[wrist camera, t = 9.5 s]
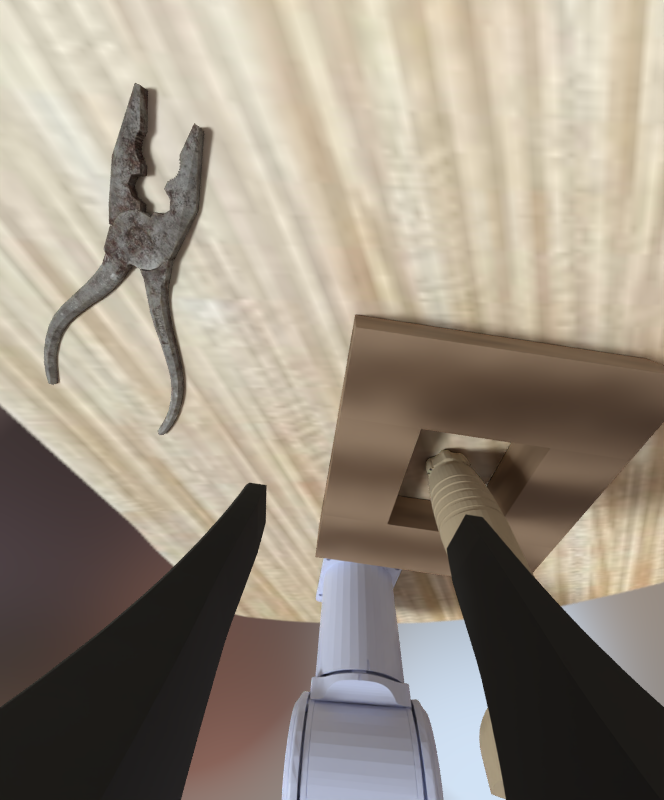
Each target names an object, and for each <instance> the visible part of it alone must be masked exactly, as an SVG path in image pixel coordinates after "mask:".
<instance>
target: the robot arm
mask: <svg viewBox="0 0 664 800" xmlns="http://www.w3.org/2000/svg"><path fill="white" fill-rule="evenodd" d="M265 523H266V485H261V484H254V483H248V484H247V485H246V486H245V487H244V489H243V490H242V491H241V493H240V494H239V495H238V497H237V498H236V499H235V500H234V502H233V503H232V504H231V505H230V507H229V508H228V509H227V510H226V511H225V513H224V514H223V515H222V516H221V517H220V518H219V519H218V521H217V522H216V523H215V524H214V525H213V526H212V527H211V528H210V530H209V531H208V532H207V533H206V534H205V535H204V536H203V537H202V538H201V539H200V541H199V542H198V543H197V544H196V545H195V546H194V547H193V548H192V549H191V550H190V551H189V552H188V553H187V554H186V555H185V556H184V557H183V558H182V559H181V560H180V561H179V562H178V563H177V564H176V565H175V566H174V567H173V568H172V569H171V570H170V571H169V572H168V573H167V574H166V575H165V576H163V578H161V579H160V580H159V581H158V582H157V583H156V584H155V585H154V586H153V587H152V588H151V589H149V590H148V591H147V592H146V593H145V594H144V595H143V596H142V597H140V598H139V599H138V600H137V601H136V602H135V603H134V604H132V605H131V606H130V607H129V608H128V609H127V610H125V611H124V612H123V613H122V614H121V615H119V616H118V617H117V618H116V619H115V620H114V621H112V622H111V623H110V624H109V625H108V626H106V627H105V628H104V629H103V630H101V631H100V632H99V633H98V634H97V635H95V636H94V637H93V638H91V639H90V640H89V641H88V642H86V643H85V644H84V645H83V646H81V647H80V648H79V649H77V650H76V651H75V652H74V653H72V654H71V655H70V656H68V657H67V658H66V659H65V660H63V661H62V662H61V663H59V664H58V665H57V666H56V667H54V668H53V669H52V670H50V671H49V672H48V673H47V674H45V675H44V676H43V677H41V678H40V679H39V680H37V681H36V682H35V683H33V684H32V685H30V686H29V687H28V688H26V689H25V690H24V691H22V692H21V693H19V694H18V695H17V696H16V697H14V698H12V699H11V700H10V701H8V702H7V703H6V704H4V705H3V706H2V707H0V800H181V797H182V793H183V790H184V786H185V782H186V778H187V775H188V771H189V767H190V763H191V760H192V756H193V753H194V749H195V745H196V742H197V737H198V734H199V731H200V727H201V723H202V720H203V716H204V713H205V709H206V706H207V702H208V699H209V695H210V691H211V688H212V685H213V681H214V678H215V674H216V670H217V667H218V664H219V660H220V657H221V653H222V650H223V647H224V643H225V640H226V637H227V634H228V631H229V628H230V625H231V622H232V620H233V617H234V614H235V612H236V609H237V606H238V604H239V601H240V598H241V596H242V593H243V590H244V588H245V585H246V582H247V580H248V577H249V574H250V572H251V569H252V566H253V564H254V561H255V558H256V555H257V553H258V549H259V546H260V542H261V538H262V534H263V531H264V527H265ZM447 555H448V561H449V567H450V572H451V577H452V581H453V585H454V588H455V592H456V595H457V598H458V602H459V605H460V608H461V611H462V615H463V618H464V621H465V624H466V628H467V631H468V634H469V637H470V641H471V644H472V646H473V650H474V654H475V657H476V660H477V664H478V667H479V671H480V675H481V679H482V683H483V688H484V692H485V696H486V701H487V706H488V710H489V715H490V719H491V724H492V729H493V734H494V739H495V744H496V749H497V754H498V759H499V764H500V769H501V775H502V780H503V786H504V791H505V797H506V800H664V707H663V706H662V705H661V704H660V703H659V702H657V701H656V700H655V699H654V698H653V697H652V696H651V695H650V694H649V693H647V692H646V691H645V690H644V689H643V688H642V687H641V686H640V685H639V684H638V683H636V682H635V680H633V679H632V678H631V677H630V676H629V675H628V674H627V673H626V672H625V671H624V670H623V669H622V668H621V667H620V666H619V665H618V664H617V663H616V662H615V661H614V660H613V659H612V658H611V657H610V656H609V655H607V654H606V653H605V652H604V651H603V650H602V649H601V648H600V647H599V646H598V645H597V644H596V643H595V642H594V641H593V640H592V639H591V638H590V637H589V636H588V635H587V634H586V633H585V632H584V631H583V630H582V629H581V628H580V627H579V625H578V624H577V623H576V622H575V621H574V620H573V619H572V618H571V617H570V616H569V615H568V614H567V613H566V612H565V611H564V610H563V608H562V607H561V606H560V605H559V604H558V603H557V602H556V601H555V600H554V599H553V598H552V597H551V595H550V594H549V593H548V592H547V591H546V590H545V589H544V588H543V587H542V585H541V584H540V583H539V582H538V581H537V580H536V579H535V578H534V576H533V575H532V574H531V573H530V572H529V571H528V570H527V568H526V567H525V566H524V565H523V564H522V563H521V561H520V560H519V559H518V558H517V557H516V556H515V554H514V553H513V552H512V551H511V550H510V548H509V547H508V546H507V545H506V544H505V543H504V541H503V540H502V539H501V538H500V537H499V535H498V534H497V533H496V532H495V531H494V530H493V528H492V527H491V526H490V525H489V524H488V523H487V521H486V520H485V519H484V518H483V517H480V516H473V515H465V516H464V518H463V520H462V522H461V524H460V525H459V527H458V529H457V531H456V533H455V534H454V536H453V538H452V540H451V542H450V543H449V545H448V547H447ZM401 570H402V569H396V568H389V567H382V566H375V565H368V564H361V563H354V562H347V561H340V560H333V559H326V558H324V559H323V564H322V569H321V574H320V579H319V584H318V589H317V594H316V600H317V601H320V602H322V609H321V621H320V633H319V644H318V656H317V668H316V677H312V681H311V691H310V692H307V691H304V692H303V693H302V694H301V697H300V698H299V699H298V700H297V702H296V703H295V706H294V708H293V712H292V717H291V722H290V727H289V733H288V740H287V747H286V756H285V764H284V775H283V776H284V777H283V789H282V800H443V791H442V783H441V775H440V768H439V763H438V756H437V751H436V745H435V740H434V736H433V731H432V727H431V723H430V720H429V717H428V715H427V713H426V711H425V710H424V709H423V707H422V706H421V704H420V702H419V701H418V700H411V699H410V691H409V685H408V684H406V683H404V676H403V668H402V660H401V651H400V643H399V634H398V626H397V617H396V609H395V600H394V592H393V588H394V586H395V584H396V581H397V579H398V577H399V575H400V573H401Z"/></svg>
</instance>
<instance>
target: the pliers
mask: <svg viewBox="0 0 664 800" xmlns="http://www.w3.org/2000/svg"><path fill="white" fill-rule="evenodd" d="M147 103H148V91H147V90H146V89H145V88H143V87H142V86H141V85H139V84H137V83H135V84H134V87H133V90H132V94H131V97H130V100H129V103H128V106H127V110H126V113H125V116H124V119H123V122H122V126H121V129H120V132H119V135H118V138H117V142H116V145H115V148H114V151H113V154H112V164H111V179H110V194H109V224H110V225H111V226H110V227H109V231H108V235H107V239H106V242H105V246H104V251H105V252H106V253H105V256H104V260H103V263H102V265H101V266H100V268H99V269H98V270H97V272H96V273H95V274H94V275H93V277H92V278H91V279H90V280H89V281H88V282H87V283H86V284H85V285H84V286H83V287H82V288H80V289H79V290H78V291H77V292H76V293H75V294H74V295H73V296H72V297H71V298H70V299H69V300H68V301H67V302H65V303H64V304H63V305H62V306H61V308H60V309H59V310H58V311H57V312H56V314H55V315H54V317H53V319H52V321H51V323H50V325H49V327H48V331H47V335H46V339H45V347H44V365H45V371H46V376H47V380H48V383H49V384H53V385H54V384H56V383H57V382H58V377H57V368H56V353H57V348H58V344H59V341H60V338H61V335H62V333H63V331H64V330H65V328H66V327H67V325H68V324H69V323H70V322H71V321H72V320H73V319H74V318H75V317H77V316H78V315H79V314H80V313H82V312H83V311H84V310H86V309H87V308H88V307H90V306H91V305H93V304H94V303H96V302H97V301H99V300H100V299H102V298H103V297H105V296H106V295H107V294H109V293H110V292H111V291H112V290H114V289H115V287H116V286H117V285H118V284H119V283H120V282H121V281H122V280H123V279H124V277H125V276H126V275H127V273H128V272H129V271H130V269H131V268H132V265H134V266H136V267H137V268H139V269H140V271H141V274H142V276H143V278H144V282H145V287H146V293H147V298H148V303H149V308H150V313H151V316H152V319H153V323H154V326H155V329H156V332H157V334H158V337H159V340H160V343H161V346H162V349H163V352H164V355H165V359H166V362H167V365H168V369H169V373H170V377H171V386H172V393H171V402H170V407H169V411H168V413H167V416H166V418H165V420H164V422H163V423H162V425H161V426H160V428H159V430H158V434H159V435H164V434H165V433H166V432H167V431H168V430H169V429H170V427H171V426H172V424H173V423H174V421H175V419H176V417H177V415H178V413H179V409H180V406H181V403H182V397H183V373H182V366H181V362H180V357H179V353H178V349H177V345H176V340H175V336H174V332H173V328H172V323H171V318H170V312H169V303H168V292H169V283H170V277H171V271H172V264H173V259H175V257H176V255H177V253H178V251H179V249H180V247H181V245H182V243H183V240H184V238H185V236H186V234H187V232H188V230H189V228H190V226H191V224H192V222H193V220H194V218H195V216H196V214H197V212H198V208H199V194H200V180H201V166H202V152H203V138H204V131H203V130H202V129H201V128H200V127H199V126H197V125H196V124H195V123H194V125H193V127H192V129H191V132H190V134H189V136H188V138H187V140H186V142H185V145H184V147H183V149H182V151H181V153H180V159H179V160H180V161H181V162H180V169H179V170H180V171H178V173H179V174H177V176H176V178H174V179H172V180H170V181H168V182H167V184H166V186H165V188H164V189H165V191H166V193H167V195H168V196H169V198H170V211H168V212H167V213H165V214H161V213H156V212H153V214H152V216H151V215H150V214H148V213H146V204H145V203H144V202H143V201H142V200H141V199H140V198H139V197H138V195H137V192H136V189H135V186H134V185H135V183H136V180H137V178H138V177H140V176H147V166H146V164H145V161H144V158H143V155H142V153H143V152H142V151H141V150H142V148H141V147H142V145H141V144H143V143H142V141H143V138H144V136H146V133H147Z"/></svg>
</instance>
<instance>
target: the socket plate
mask: <svg viewBox="0 0 664 800" xmlns="http://www.w3.org/2000/svg"><path fill="white" fill-rule="evenodd" d="M663 422H664V365H662V364H659V363H657V362H654V361H651V360H649V359H645V358H638V357H632V356H625V355H618V354H612V353H605V352H599V351H592V350H585V349H579V348H572V347H566V346H559V345H552V344H546V343H539V342H532V341H526V340H519V339H513V338H506V337H499V336H493V335H486V334H480V333H473V332H466V331H460V330H453V329H446V328H440V327H433V326H427V325H420V324H413V323H407V322H400V321H394V320H387V319H380V318H374V317H367V316H361V315H355V319H354V325H353V331H352V337H351V343H350V348H349V354H348V360H347V366H346V372H345V378H344V384H343V389H342V395H341V401H340V407H339V413H338V419H337V425H336V430H335V436H334V442H333V448H332V454H331V460H330V465H329V471H328V477H327V483H326V489H325V495H324V501H323V506H322V512H321V518H320V524H319V531H318V540H317V548H316V556H315V557H319V558H326V559H333V560H340V561H347V562H354V563H361V564H368V565H375V566H382V567H389V568H396V569H402V570H409V571H416V572H423V573H430V574H437V575H444V576H451V572H450V567H449V561H448V556H447V553H446V551H445V548H444V545H443V543H442V540H441V536H440V534H439V531H438V526H437V524H436V520H435V517H434V513H433V508H432V504H431V501H429V500H423V499H416V498H409V497H402V496H397V495H398V493H399V490H400V487H401V484H402V481H403V479H404V476H405V473H406V470H407V467H408V465H409V462H410V459H411V456H412V453H413V451H414V448H415V445H416V442H417V439H418V437H419V434H420V431H421V429H424V430H431V431H438V432H445V433H451V434H458V435H465V436H472V437H478V438H485V439H492V440H499V441H505V442H512V443H511V445H510V446H509V448H508V450H507V452H506V453H505V455H504V457H503V459H502V460H501V462H500V464H499V466H498V467H497V469H496V471H495V473H494V474H493V476H492V478H491V480H490V481H489V483H488V485H487V488H488V489H489V491H490V493H491V494H492V496H493V497H494V499H495V500H496V502H497V504H498V506H499V507H500V509H501V511H502V513H503V514H504V516H505V518H506V520H507V521H508V523H509V525H510V528H511V530H512V532H513V534H514V536H515V538H516V540H517V542H518V544H519V546H520V548H521V550H522V553H523V555H524V557H525V559H526V561H527V563H528V565H529V567H530V569H531V571H532V573H533V572H534V571H535V569H536V568H537V567H538V566H539V565H540V564H541V563H542V561H543V560H544V559H545V558H546V557H547V556H548V555H549V553H550V552H551V551H552V550H553V549H554V548H555V546H556V545H557V544H558V543H559V542H560V541H561V540H562V538H563V537H564V536H565V535H566V534H567V533H568V532H569V530H570V529H571V528H572V527H573V526H574V525H575V523H576V522H577V521H578V520H579V519H580V518H581V517H582V515H583V514H584V513H585V512H586V511H587V510H588V508H589V507H590V506H591V505H592V504H593V503H594V502H595V500H596V499H597V498H598V497H599V496H600V495H601V494H602V492H603V491H604V490H605V489H606V488H607V487H608V485H609V484H610V483H611V482H612V481H613V480H614V479H615V477H616V476H617V475H618V474H619V473H620V472H621V471H622V469H623V468H624V467H625V466H626V465H627V464H628V462H629V461H630V460H631V459H632V458H633V457H634V456H635V454H636V453H637V452H638V451H639V450H640V449H641V448H642V446H643V445H644V444H645V443H646V442H647V441H648V439H649V438H650V437H651V436H652V435H653V434H654V433H655V431H656V430H657V429H658V428H659V427H660V426H661V425H662V423H663Z"/></svg>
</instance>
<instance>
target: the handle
mask: <svg viewBox="0 0 664 800" xmlns="http://www.w3.org/2000/svg"><path fill="white" fill-rule="evenodd" d="M470 465H471V464H470V462H469V461H468V460H467V458H466V457H465V456H464V455H463V454H461V453H452V452H450V451H449V450H443V451H441V452H440V453H439V454H438V455H436V456H435V457H432V458H429V459H428V460H427V462H426V471H427V474H428V479H429V481H428V486H429V493H430V499H431V504H432V508H433V513H434V517H435V520H436V524H437V526H438V531H439V534H440V536H441V540H442V543H443V545H444V548H445V551H446V553H447V547H448V545H449V543H450V542H451V540H452V538H453V536H454V534H455V533H456V531H457V529H458V527H459V525H460V524H461V522H462V520H463V518H464V516H465V515H473V516H480V517H483V518H484V519H485V520H486V521H487V523H488V524H489V525H490V526H491V527H492V528H493V530H494V531H495V532H496V533H497V534H498V535H499V537H500V538H501V539H502V540H503V541H504V543H505V544H506V545H507V546H508V547H509V548H510V550H511V551H512V552H513V553H514V554H515V556H516V557H517V558H518V559H519V560H520V561H521V563H522V564H523V565H524V566H525V567H526V568H527V570H528V571H529V572H530V573H531V574H532V575H533V573H532V571H531V569H530V567H529V565H528V563H527V561H526V559H525V557H524V555H523V553H522V550H521V548H520V546H519V544H518V542H517V540H516V538H515V536H514V534H513V532H512V530H511V528H510V525H509V523H508V521H507V520H506V518H505V516H504V514H503V513H502V511H501V509H500V507H499V506H498V504H497V502H496V500H495V499H494V497H493V496H492V494H491V493H490V491H489V489H488V488H487V487H486V485H485V484H484V482H483V481H482V480H481V478H480V477H479V476H478V475H477V473H476V472H475V471H474V470H473V469H472V468H471V467H470ZM447 556H448V555H447ZM533 576H534V575H533ZM534 578H535V577H534ZM480 748H481V754H482V759H483V763H484V767H485V770H486V775H487V779H488V783H489V787H490V790H491V794H493V795H495V796H498V797H501V798H504V799H506V797H505V791H504V786H503V780H502V775H501V769H500V764H499V759H498V754H497V749H496V744H495V739H494V734H493V729H492V724H491V719H490V715H489V710H488V708H487V710H486V712H485V715H484V717H483V719H482V723H481V727H480Z"/></svg>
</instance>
